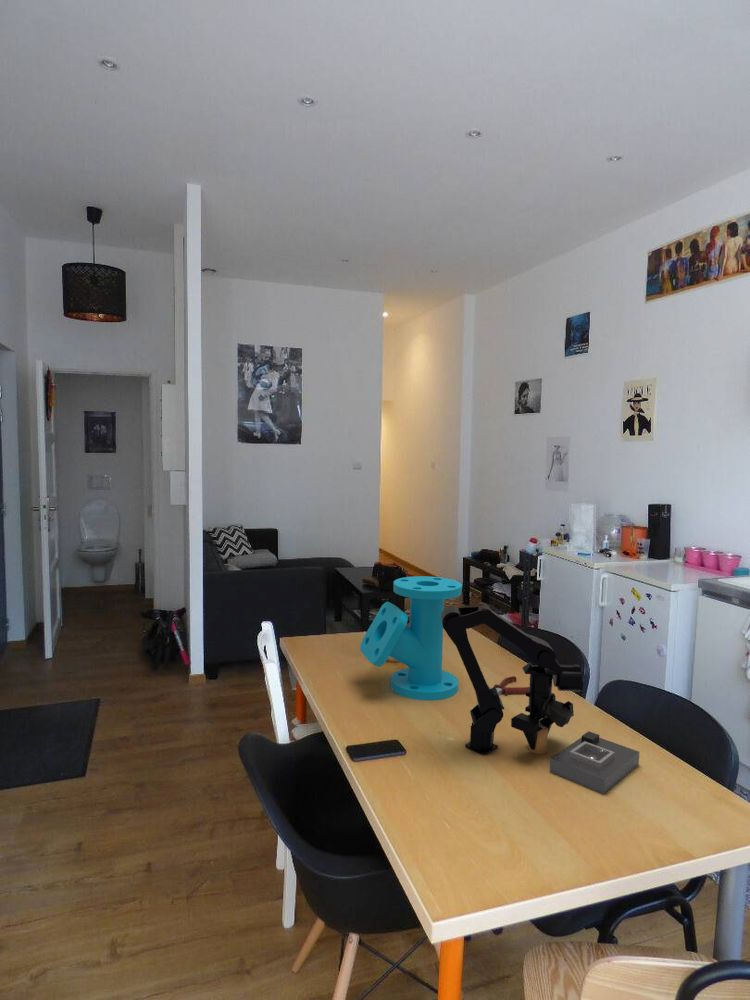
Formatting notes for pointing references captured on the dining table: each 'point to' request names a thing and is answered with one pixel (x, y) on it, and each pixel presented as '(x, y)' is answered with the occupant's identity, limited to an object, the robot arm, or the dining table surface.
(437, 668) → the pipe fitting
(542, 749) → the cylinder
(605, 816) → the dining table surface
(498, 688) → the pliers
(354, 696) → the dining table surface
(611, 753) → the sink basin plate
